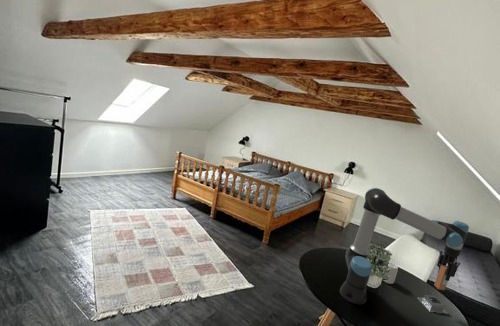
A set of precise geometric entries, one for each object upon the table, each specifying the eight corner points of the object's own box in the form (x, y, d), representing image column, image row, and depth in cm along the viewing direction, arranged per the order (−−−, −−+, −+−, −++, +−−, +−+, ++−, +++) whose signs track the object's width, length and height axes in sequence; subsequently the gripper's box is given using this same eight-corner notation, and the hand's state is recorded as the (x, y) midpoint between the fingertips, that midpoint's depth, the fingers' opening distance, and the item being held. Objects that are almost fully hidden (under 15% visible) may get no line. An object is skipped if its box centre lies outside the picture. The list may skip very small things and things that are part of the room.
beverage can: (380, 281, 191) (385, 265, 189) (381, 275, 198) (386, 260, 196) (393, 286, 188) (398, 270, 185) (393, 280, 195) (398, 265, 192)
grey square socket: (429, 311, 167) (431, 305, 167) (417, 298, 179) (419, 292, 178) (448, 314, 168) (450, 308, 167) (434, 300, 180) (436, 294, 179)
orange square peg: (438, 289, 169) (445, 268, 166) (433, 285, 173) (441, 265, 170) (444, 290, 169) (452, 269, 166) (440, 286, 173) (447, 265, 170)
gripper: (471, 255, 157) (457, 291, 162) (449, 241, 174) (437, 274, 179) (458, 253, 157) (445, 290, 161) (437, 239, 173) (426, 272, 178)
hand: (441, 281), depth 170 cm, fingers closed on orange square peg, 4 cm apart
